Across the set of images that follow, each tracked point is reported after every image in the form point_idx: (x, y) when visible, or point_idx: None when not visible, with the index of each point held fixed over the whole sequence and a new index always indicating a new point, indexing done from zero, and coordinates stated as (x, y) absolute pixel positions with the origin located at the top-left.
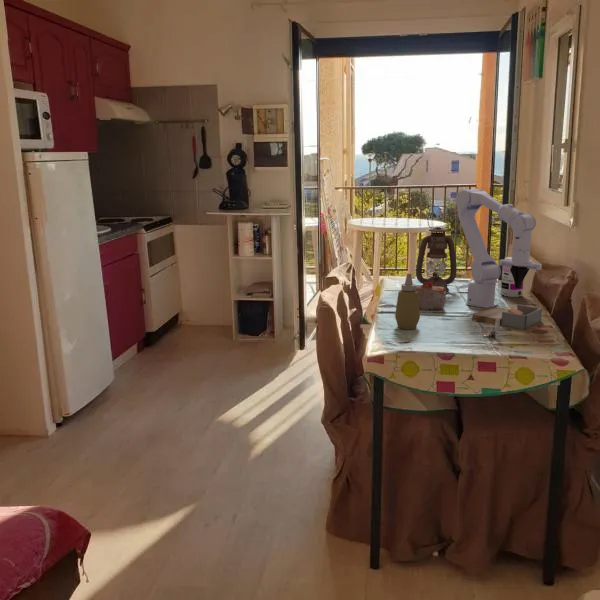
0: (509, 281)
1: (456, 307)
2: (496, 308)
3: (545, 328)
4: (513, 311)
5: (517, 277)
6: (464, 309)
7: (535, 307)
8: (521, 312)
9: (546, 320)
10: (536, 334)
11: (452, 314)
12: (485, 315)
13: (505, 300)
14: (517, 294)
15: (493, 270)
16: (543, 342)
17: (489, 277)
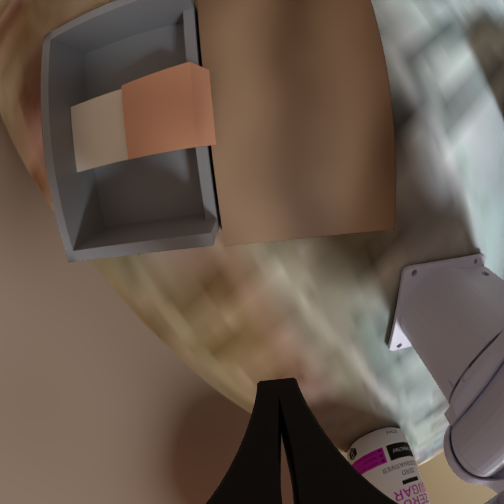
0: (392, 466)
1: (495, 189)
2: (352, 204)
3: (38, 140)
4: (159, 84)
5: (294, 472)
6: (471, 178)
7: (95, 252)
8: (134, 144)
9: (99, 266)
10: (36, 43)
11: (460, 62)
12: (307, 5)
13: (378, 403)
14: (356, 446)
15: (498, 436)
16: (11, 10)
17: (500, 383)
